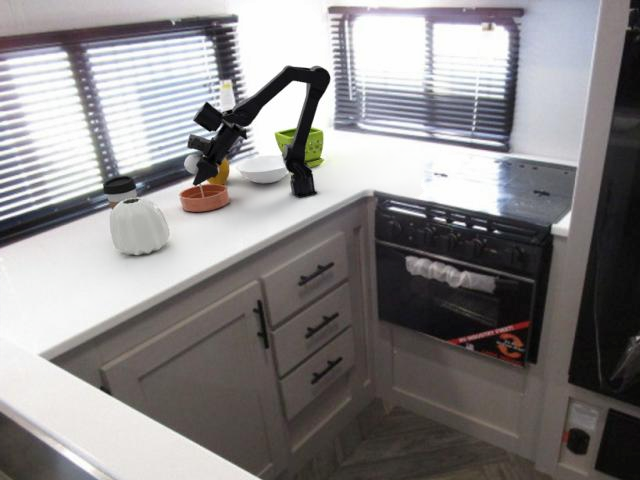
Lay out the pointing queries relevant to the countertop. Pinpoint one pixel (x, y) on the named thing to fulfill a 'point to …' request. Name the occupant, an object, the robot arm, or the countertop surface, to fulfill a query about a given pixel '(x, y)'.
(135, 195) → the coffee cup
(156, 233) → the vase
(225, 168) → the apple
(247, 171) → the bowl
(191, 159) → the lollipop
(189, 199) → the terracotta plant saucer
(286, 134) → the flower pot
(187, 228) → the countertop surface
